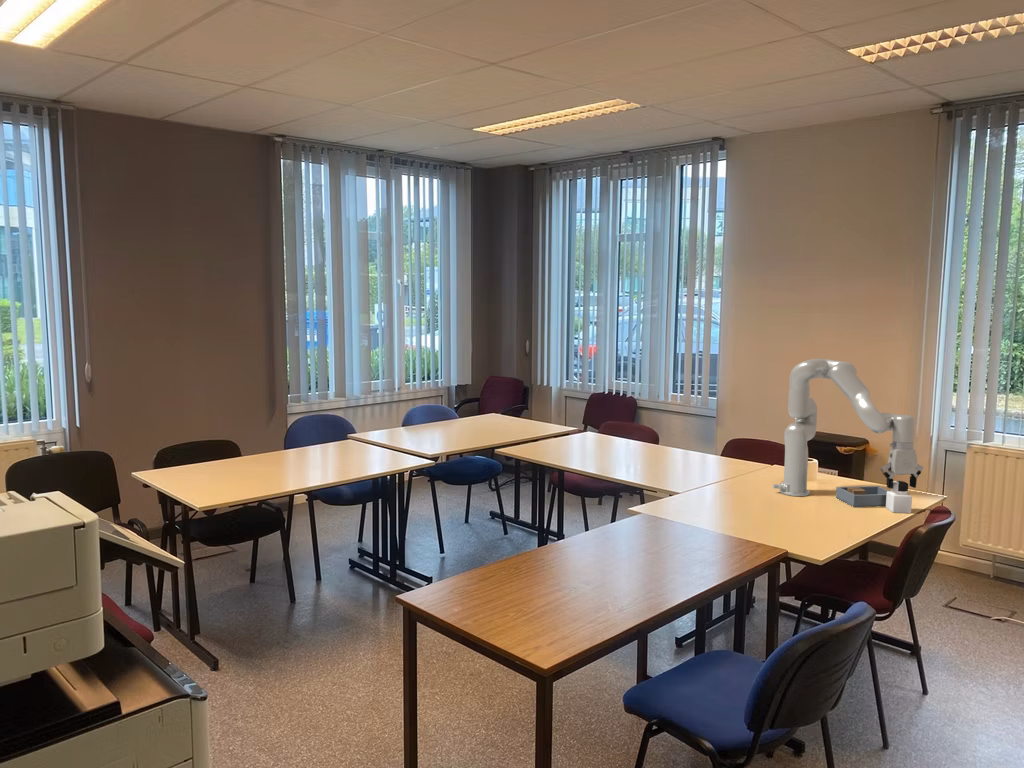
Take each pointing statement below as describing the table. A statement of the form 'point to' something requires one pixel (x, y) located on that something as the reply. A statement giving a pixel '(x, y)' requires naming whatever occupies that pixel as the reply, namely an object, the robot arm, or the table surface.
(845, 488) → the tote
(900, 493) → the medicine bottle
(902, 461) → the robot arm
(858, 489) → the walnut cube
